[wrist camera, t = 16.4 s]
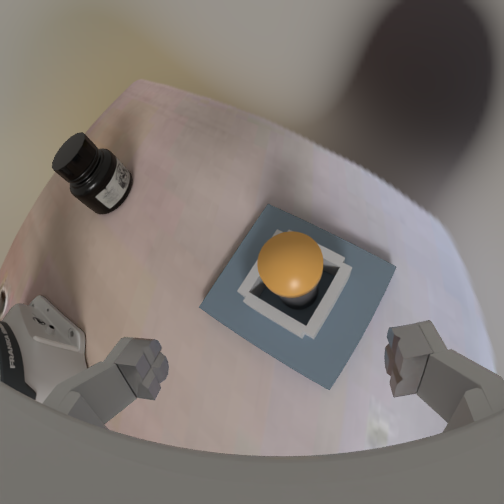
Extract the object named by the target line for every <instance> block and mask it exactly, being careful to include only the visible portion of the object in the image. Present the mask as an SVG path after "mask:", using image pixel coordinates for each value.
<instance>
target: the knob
mask: <svg viewBox="0 0 504 504" xmlns="http://www.w3.org/2000/svg"><path fill="white" fill-rule="evenodd" d="M257 267H258V272H259V275H260V277H261V279H262V281H263V282H264V284H265V285H266V286H267V287H268V289H269V290H271V291H272V292H273V293H275V294H277V295H278V296H279V297H280V299H281V300H282V302H283V303H284V304H285V305H286V306H287V307H289V308H292V309H296V310H301V309H305V308H307V307H309V306H311V305H312V304H313V303H314V302H315V300H316V298H317V296H318V291H319V286H318V283H319V281H320V279H321V277H322V273H323V255H322V252H321V249H320V247H319V245H318V244H317V243H316V242H315V241H314V240H313V239H312V238H311V237H309V236H308V235H306V234H303V233H300V232H295V231H289V232H283V233H280V234H277V235H275V236H273V237H272V238H270V239H269V240H268V241H267V242H266V243H265V244H264V246H263V247H262V249H261V250H260V253H259V256H258V261H257Z"/></svg>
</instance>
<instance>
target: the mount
mask: <svg viewBox="0 0 504 504" xmlns="http://www.w3.org/2000/svg"><path fill="white" fill-rule="evenodd" d="M289 231H295V232H300V233H303V234H306V235H308V236H309V237H311V238H312V239H313V240H314V241H315V242H316V243H317V244H318V245H319V247H320V249H321V252H322V255H323V273H322V277H321V279H320V281H319V283H318V286H319V291H318V296H317V298H316V300H315V302H314V303H313V304H312V305H311V306H309V307H307V308H305V309H301V310H296V309H292V308H289V307H287V306H286V305H285V304H284V303H283V302H282V300H281V299H280V297H279V296H278V295H277V294H275V293H273V292H272V291H271V290H269V289H268V287H267V286H266V285H265V284H264V282H263V281H262V279H261V277H260V275H259V272H258V267H257V261H258V256H259V253H260V250H261V249H262V247H263V246H264V244H265V243H266V242H267V241H268V240H269V239H270V238H272V237H273V236H275V235H277V234H280V233H283V232H289ZM395 269H396V266H394V265H392V264H390V263H388V262H387V261H385V260H383V259H381V258H379V257H377V256H375V255H373V254H371V253H369V252H367V251H365V250H363V249H361V248H359V247H358V246H356V245H354V244H352V243H350V242H348V241H346V240H344V239H342V238H340V237H337V236H335V235H333V234H331V233H329V232H327V231H325V230H323V229H321V228H319V227H317V226H315V225H313V224H311V223H309V222H306V221H304V220H302V219H300V218H298V217H296V216H294V215H291V214H289V213H287V212H285V211H283V210H281V209H278V208H276V207H274V206H272V205H270V204H268V205H267V206H266V207H265V209H264V210H263V212H262V213H261V215H260V216H259V218H258V219H257V221H256V222H255V224H254V225H253V227H252V228H251V230H250V231H249V233H248V234H247V236H246V237H245V239H244V240H243V242H242V243H241V245H240V246H239V248H238V249H237V251H236V252H235V254H234V255H233V257H232V258H231V260H230V261H229V263H228V264H227V266H226V267H225V269H224V270H223V272H222V273H221V275H220V276H219V278H218V279H217V281H216V282H215V284H214V285H213V287H212V288H211V290H210V291H209V293H208V294H207V296H206V297H205V299H204V300H203V302H202V303H201V305H200V307H199V308H201V309H202V310H203V311H205V312H206V313H208V314H209V315H210V316H212V317H213V318H215V319H216V320H218V321H219V322H221V323H222V324H223V325H225V326H226V327H228V328H229V329H231V330H232V331H234V332H235V333H237V334H238V335H240V336H241V337H243V338H244V339H246V340H247V341H249V342H250V343H252V344H253V345H255V346H257V347H258V348H260V349H261V350H263V351H264V352H266V353H268V354H269V355H271V356H272V357H274V358H276V359H277V360H279V361H280V362H282V363H284V364H285V365H287V366H289V367H290V368H292V369H294V370H295V371H297V372H299V373H300V374H302V375H304V376H305V377H307V378H309V379H310V380H312V381H314V382H316V383H317V384H319V385H321V386H323V387H324V388H326V389H328V390H330V389H331V387H332V386H333V384H334V382H335V381H336V379H337V378H338V376H339V375H340V373H341V371H342V370H343V368H344V367H345V365H346V363H347V362H348V360H349V358H350V357H351V355H352V353H353V351H354V350H355V348H356V346H357V345H358V343H359V341H360V339H361V337H362V336H363V334H364V332H365V330H366V328H367V327H368V325H369V323H370V321H371V319H372V317H373V315H374V313H375V311H376V309H377V307H378V305H379V303H380V301H381V299H382V297H383V295H384V293H385V291H386V289H387V287H388V285H389V282H390V280H391V278H392V276H393V274H394V271H395Z"/></svg>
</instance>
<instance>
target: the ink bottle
mask: <svg viewBox="0 0 504 504" xmlns="http://www.w3.org/2000/svg"><path fill="white" fill-rule="evenodd" d="M52 168H53V169H54V171H55V172H56V173H58V174H59V175H60V176H61V177H62V178H63V179H65V180H66V181H67V182H69V183H70V191H71V193H72V194H73V196H75V197H76V198H77V199H78V200H80V201H81V202H82V203H83V204H85V205H86V206H87V207H89V208H90V209H91V210H93V211H94V212H95V213H97V214H107V213H110V212H112V211H114V210H115V209H117V208H118V207H119V206H120V205H121V204H122V203H123V202H124V200H125V199H126V197H127V196H128V194H129V191H130V189H131V185H132V175H131V173H130V172H129V170H128V169H127V168H126V167H125V166H124V165H123V164H122V163H121V162H120V161H119V160H118V159H117V158H116V156H115V155H114V154H113V153H112V152H111V151H109V150H107V149H98V148H97V147H96V145H95V144H94V143H93V142H92V141H91V140H90V139H89V138H88V137H87V136H86V135H85V134H84V133H77V134H75V135H73V136H72V137H70V138H69V139H68V140H67V141H66V142H65V143H64V144H63V145H62V147H61V148H60V149H59V151H58V152H57V154H56V155H55V157H54V160H53V162H52Z"/></svg>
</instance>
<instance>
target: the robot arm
mask: <svg viewBox="0 0 504 504" xmlns="http://www.w3.org/2000/svg"><path fill="white" fill-rule="evenodd" d="M387 339H388V342H389V344H388V345H387V346H386V347H385V368H386V372H387V374H389V375H390V376H391V379H390V386H391V390H392V394H393V397H399V396H405V395H410V394H416V393H417V395H418V396H419V397H420V398H421V399H422V400H423V401H424V402H426V403H427V404H428V405H429V406H430V407H431V408H432V409H433V410H434V411H435V412H437V413H438V414H439V415H440V416H441V417H442V418H443V419H444V420H445V421H446V422H447V423H448V424H447V426H446V428H445V429H444V431H443V432H442V433H440V434H437V435H433V436H430V437H426V438H422V439H419V440H415V441H410V442H406V443H402V444H397V445H392V446H387V447H382V448H376V449H370V450H363V451H356V452H348V453H339V454H328V455H313V456H251V455H236V454H225V453H215V452H207V451H200V450H193V449H187V448H181V447H175V446H170V445H165V444H161V443H156V442H152V441H147V440H143V439H139V438H135V437H132V436H128V435H124V434H121V433H118V432H114V431H111V430H109V429H108V428H107V427H106V426H105V425H104V424H105V423H107V422H108V421H109V420H110V419H112V418H113V417H114V416H116V415H117V414H118V413H119V412H121V411H122V410H123V409H124V408H126V407H127V406H128V405H129V404H131V403H132V402H133V401H134V400H136V399H137V398H142V399H150V400H155V399H156V397H157V395H158V393H159V391H160V389H161V386H160V383H161V382H162V381H164V380H165V379H166V377H167V375H168V370H169V365H168V361H167V358H166V356H165V355H163V354H162V353H161V352H160V351H161V348H162V347H161V345H160V343H159V341H158V340H155V339H145V338H131V337H123V338H121V339H120V341H119V342H118V343H117V344H116V346H115V347H114V348H113V350H112V351H111V352H110V353H109V355H108V356H107V357H106V359H105V360H104V361H103V362H98V363H97V364H95V365H93V366H91V367H89V368H87V366H86V361H85V355H84V353H85V335H84V332H83V331H82V330H81V329H79V328H78V327H77V326H76V325H75V324H74V323H72V322H71V321H70V320H69V319H68V318H67V317H65V316H64V315H63V314H62V313H61V312H60V311H59V310H58V309H57V308H55V307H54V306H53V305H52V304H51V303H50V302H49V301H48V300H47V299H46V298H45V297H44V296H40V295H38V296H37V297H36V298H34V299H33V301H32V302H31V303H30V305H25V304H21V303H19V304H16V305H14V306H13V307H12V308H11V309H10V310H9V312H8V313H7V314H6V316H5V317H4V318H3V320H2V321H0V504H504V380H503V379H502V377H501V376H499V375H497V374H495V373H493V372H492V371H490V370H488V369H486V368H484V367H483V366H481V365H479V364H477V363H475V362H474V361H472V360H470V359H468V358H466V357H465V356H463V355H461V354H459V353H457V352H456V351H454V350H452V349H450V350H448V349H447V348H446V346H445V344H444V342H443V341H442V339H441V337H440V335H439V334H438V332H437V330H436V328H435V327H434V325H433V323H432V322H431V321H430V320H428V321H423V322H418V323H415V324H409V325H403V326H397V327H391V328H389V330H388V333H387Z"/></svg>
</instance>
